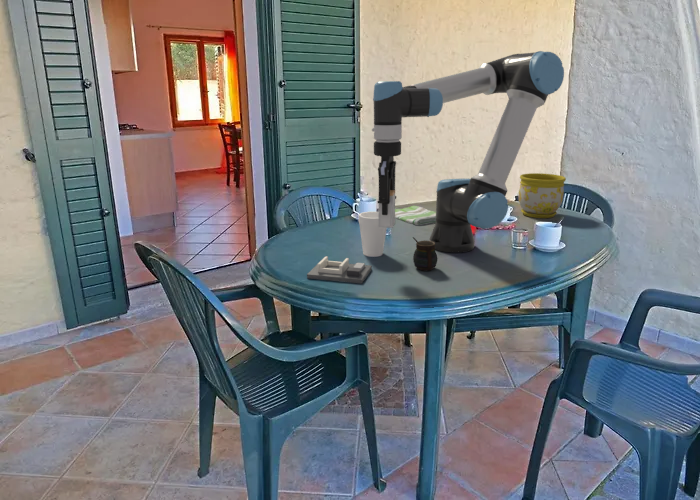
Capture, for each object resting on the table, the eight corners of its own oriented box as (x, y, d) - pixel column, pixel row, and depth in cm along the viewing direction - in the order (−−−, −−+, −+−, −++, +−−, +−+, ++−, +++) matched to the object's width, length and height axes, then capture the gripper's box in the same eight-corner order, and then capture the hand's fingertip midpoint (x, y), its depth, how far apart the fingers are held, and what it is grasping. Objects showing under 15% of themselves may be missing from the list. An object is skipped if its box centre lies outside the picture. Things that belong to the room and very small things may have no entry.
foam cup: (367, 259, 160) (367, 219, 156) (353, 251, 168) (353, 213, 164) (393, 255, 164) (393, 216, 160) (378, 247, 172) (378, 210, 168)
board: (371, 269, 151) (371, 257, 150) (361, 283, 140) (361, 270, 139) (320, 264, 156) (320, 253, 154) (307, 278, 144) (306, 265, 143)
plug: (395, 224, 148) (395, 190, 145) (392, 227, 144) (392, 193, 141) (381, 223, 149) (381, 189, 146) (378, 227, 145) (378, 192, 142)
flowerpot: (509, 210, 225) (513, 173, 220) (548, 209, 227) (552, 172, 222) (527, 220, 208) (531, 180, 203) (569, 219, 210) (574, 179, 205)
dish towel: (415, 227, 200) (415, 218, 199) (383, 215, 219) (383, 207, 218) (449, 221, 209) (449, 213, 207) (415, 210, 228) (415, 202, 227)
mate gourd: (441, 271, 150) (442, 238, 147) (417, 274, 148) (418, 241, 145) (431, 263, 157) (432, 232, 154) (408, 266, 155) (408, 234, 152)
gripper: (380, 137, 148) (380, 215, 155) (366, 143, 132) (367, 230, 139) (406, 137, 146) (404, 216, 153) (395, 144, 130) (394, 232, 137)
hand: (387, 223), depth 146 cm, fingers closed on plug, 4 cm apart
